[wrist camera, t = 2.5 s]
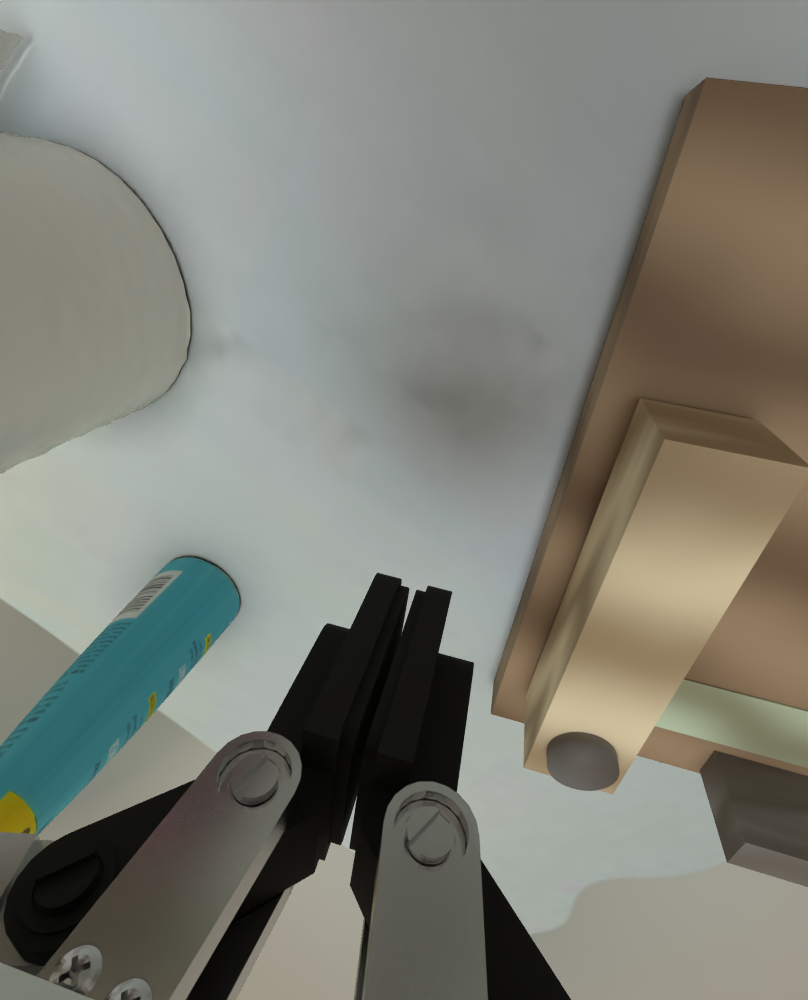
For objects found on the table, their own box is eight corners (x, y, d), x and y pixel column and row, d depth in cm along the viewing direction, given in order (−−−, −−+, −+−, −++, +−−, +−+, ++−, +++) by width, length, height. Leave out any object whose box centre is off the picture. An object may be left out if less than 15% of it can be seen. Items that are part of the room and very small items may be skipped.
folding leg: (602, 718, 23) (614, 809, 19) (525, 696, 23) (523, 781, 20) (758, 420, 15) (825, 479, 12) (639, 397, 16) (669, 448, 12)
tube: (218, 645, 31) (-147, 1126, 14) (150, 603, 30) (-307, 1049, 14) (263, 572, 27) (-166, 1118, 10) (185, 523, 26) (-388, 1010, 10)
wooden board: (685, 95, 14) (771, 20, 9) (1381, 170, 12) (2021, 128, 7) (493, 682, 27) (483, 790, 22) (813, 770, 25) (885, 913, 19)
